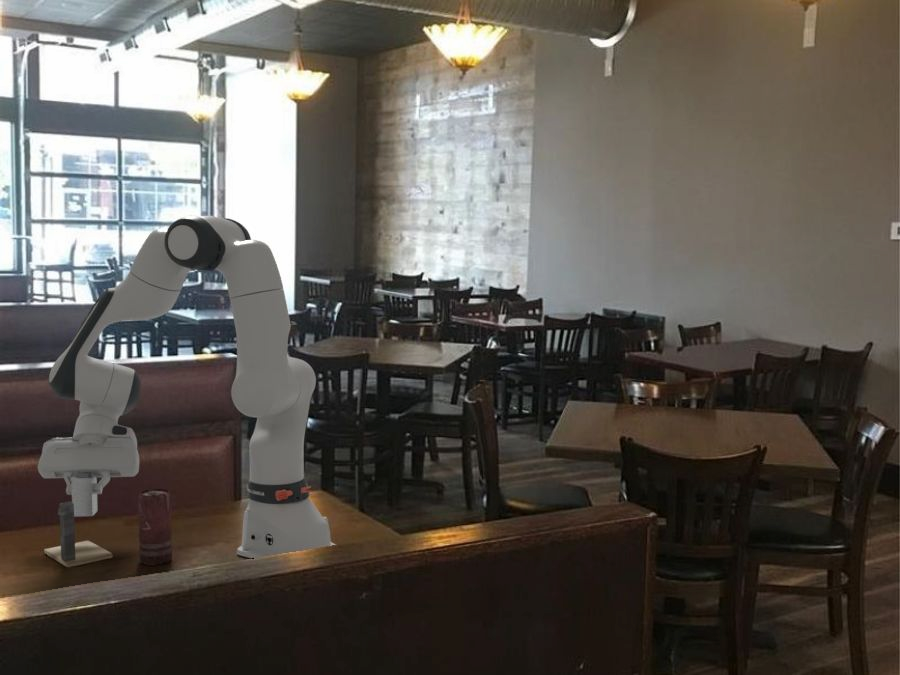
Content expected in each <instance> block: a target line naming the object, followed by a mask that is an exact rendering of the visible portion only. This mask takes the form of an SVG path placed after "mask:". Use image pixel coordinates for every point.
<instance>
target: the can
mask: <svg viewBox="0 0 900 675" xmlns="http://www.w3.org/2000/svg"><path fill="white" fill-rule="evenodd" d="M137 501H138V502H137V503H138V504H137V506H138V508H137V509H138V510H137V512H138V538H139V539H138V540H139V541H138V542H139V546H138V548H139V562H141V563H142V564H143V563H146V564H161V563H165V564H167V563H169V562H170V561H171V560H172V558H173V543H172V541H173V540H172V539H173V538H172V497H171V494H170V492H169V490H168V489H166V488H165V489H164V488H151V489H145V490H142V491H140V492H139V495H138V498H137ZM161 565H162V564H161Z"/></svg>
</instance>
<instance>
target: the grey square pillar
mask: <svg viewBox="0 0 900 675" xmlns="http://www.w3.org/2000/svg"><path fill="white" fill-rule="evenodd" d="M97 479H98V477H97V474H92V472H79V473H78V474H76V475H75V476H74V477H73V478H72V479H71V481H70V483H71V484H72V495H71V503H74V518H75V517H93V516H94V515H95V514H96V513H97V512H98V494H94V492H93V488H94V483H97V482H98V480H97Z"/></svg>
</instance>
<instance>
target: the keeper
mask: <svg viewBox="0 0 900 675" xmlns="http://www.w3.org/2000/svg"><path fill="white" fill-rule="evenodd" d="M57 515H58V516H59V531H60V545H59V546H54V547H49V548H44V550H43V553H44V554H45V555H46V554H47V556H48V557H50V558H52V559H53V560H55V561H56V562H58V563H60V564H61V565H63V566H65V567H66V568H72V567H76V566H80V565H84V564H89V563H93V562H98V561H104V560H106V559H112V558H113V556H114V555H113V553H112V552H111V551H108V550H107V549H105V548H103V547H101V546H99V545H98V544H95V543H94V542H92V541H90V540H83V541H77V542H76V534H75V531H76V530H75V517H74V503H72V501H65V502H60V503H59V508H57Z"/></svg>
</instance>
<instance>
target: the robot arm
mask: <svg viewBox="0 0 900 675" xmlns="http://www.w3.org/2000/svg"><path fill="white" fill-rule="evenodd" d="M278 267H279V266H278V264H277V261H276V259H275V256H274V254H273V252H272V249H271V247H270V246H269V245H268V243H267V244H266V243H265V242H263V241H261V240H256V239H252V238H251V234H250V233H249V231H248V229H247V227H245V226H244V225H243V224H241V223H240V222H239V221H236V220H234V219H231V218H225V217H224V218H222V217H217V216H214V215H188V216H184V217H180V218H179V219H176V220H175V221H173V223H171V224H170V225H169V227H168V228H164V227H163V228H157V229H154V230H153V231H151V232H150V234H149V235H148V236H147V237H146V239H145V241H144V242H143V243H142V245H141V247H140V249H139V251H138V252H137V254H136V256H135V258H134V260H133V263H132V265H131V267H130V270H129V272H128V274H127V275H126V277H125V278H124V280H122V282H120V283H119V284H118V285H116V286H114V287H110V288H109V287H108V288H106V289H105V290H104V291H103V292H102V293H101V294H100V296H99V297H98V298H97V299H96V301H95V302H94V303H93V305H92V307H91V308H90V309H89V311H88V313H87V314H86V316H85V318H84V319H83V320H82V323H81V324H80V325H79V327H78V328H77V330H76V332H75V333H74V335H73V337H72V338H71V339H70V341H69V342H68V344H67V346H66V347H65V349H64V350H63V351H62V353H61V354H60V355H59V357H58V358H57V359H56V360H55V362H54V363H53V365H52V367H51V369H50V373H49V377H48V384H49V386H50V388H51V390H52V391H53V392H54V394H55V395H56V396H57V397H58V398H60V399H67V400H73V401H75V400H76V401H78V402H80V403H79V416H78V417H77V419H76V422H75V426H74V430H73V436H72V437H52V438H51V439H49V440H46V442H44V443H43V445H42V450H41V456H40V457H39V460H38V464H37V471H38V473H39V475H40V476H41V477H42V478H43V479H64V482H65V483H66V488H65V493H66V495H69V496H72V483H71V479H72V478H73V477H74V476H75V475H76V474H78V473H79V472H92V474H97V478H101V479H100V480H99V482H98V483H94V488H93V492H94V494H97V495H102V493H103V489H104V488H105V487H106V486H107V484H109V483H110V481H111V478H123V477H124V478H128V477H132V478H133V477H135V476H136V475H137V474H138V473H139V472H140V471H139V470H140V455H139V450H138V439H137V436H136V434H135V432H134V430H133V428H131V427H129V426H124V425H121V424H118V423H119V422H118V421H119V418H120V416H121V417H122V416H124V415H127V414H128V413H129V412H131V411H132V410H133V409H135V407H136V406H137V403H138V400H139V396H140V392H141V387H142V386H141V384H142V380H141V378H140V376H139V374H138V372H137V371H136V370H135V369H134V368H131V367H129V366H125V365H122V364H117V363H114V362H110V361H106V360H102V359H100V358H96V357H92V356H89V352H90V351H91V349H92V348H93V346H94V344H95V343H96V341H97V340H98V338H99V337H100V335H101V334H102V332H103V330H105V328H107V327H108V326H110V325H112V324H115V323H118V322H125V321H148V320H154V319H157V318H159V317H162V316H164V315H165V314H167V313H169V312H170V311H171V310H172V308H173V306H174V305H175V304H176V303H177V300H178V298H179V295H180V294H181V291H182V288H183V285H184V284H185V281H186V279H187V277H188V274H189V273H190V271H191V270H195V271H196V270H197V271H205V272H206V271H207V272H213V271H214V270H215V271H217V272H219V273H220V274H221V275H222V276H223V277H224V280H225V284H226V285H227V286H226V287H227V291H228V296H229V297H228V298H229V301H230V306H231V307H230V308H231V312H232V317H233V322H234V328H235V332H236V349H237V350H236V372H235V378H234V380H233V382H232V386H231V390H230V393H231V399H232V402H233V405H234V407H235V408H236V409H237V411H238V412H240V413H241V414H242V415H244V416H246V417H249V418H256V423H255V428H254V430H253V433H252V435H251V437H250V440H249V445H248V447H249V449H248V451H249V455H248V456H249V479H247V486H246V490H247V497H248V499H249V501H248V504H247V506H246V509H245V510H244V513H243V521H242V532H241V533H242V534H241V535H242V536H241V545H240V546H239V547H237V548H236V549H237V551H236V554H237V555H239V556H242V557H245V558H249V559H252V558H256V557H263V556H270V555H277V554H282V553H289V552H296V551H303V550H308V549H314V548H320V547H326V546H332V545H336V543H334V542H332V541H331V532H330V525H329V519H328V518H327V516H323V515H322V514H321V512H320V511H319V510H318V508H317V507H316V505H315V504H314V503H313V502H312V500H311V498H310V492H312V490H309V489H311V488H312V486H311V485H309V486H308V483H307V479H306V477H305V472H304V470H305V468H304V467H305V465H304V463H305V462H304V458H305V456H304V455H305V454H304V453H305V452H304V450H305V449H304V447H305V446H304V444H305V435H306V434H305V433H306V428H307V427H306V426H307V423H308V422H307V421H308V416H309V411H310V404H311V399H312V395H313V393H314V391H315V388H316V383H317V378H316V374H315V371H314V369H313V367H312V366H311V365H310V364H309V363H308V362H306V360H303V359H300V358H297V357H293V356H288V342H289V334H290V331H291V326H292V325H291V321H290V319H291V318H290V314H289V310H288V304H287V300H286V299H287V298H286V294H285V290H284V286H283V281H282V277H281V274H280V271H279V268H278Z"/></svg>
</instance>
